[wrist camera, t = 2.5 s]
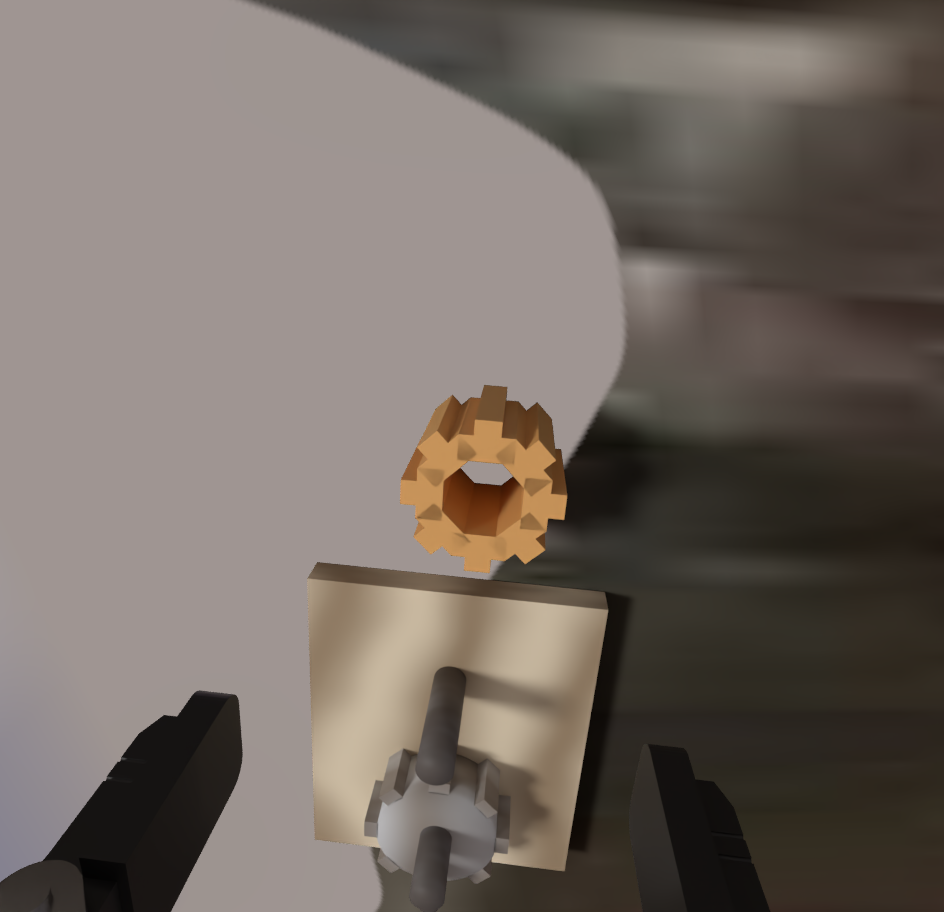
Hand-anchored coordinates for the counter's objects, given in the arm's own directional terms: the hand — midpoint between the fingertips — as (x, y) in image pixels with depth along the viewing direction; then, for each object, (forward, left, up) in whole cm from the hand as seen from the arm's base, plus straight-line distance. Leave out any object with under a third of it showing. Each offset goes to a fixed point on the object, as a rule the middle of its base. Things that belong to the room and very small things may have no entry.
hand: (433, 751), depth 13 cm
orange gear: (0, 0, -17) cm, 17 cm away
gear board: (+1, +15, -17) cm, 23 cm away
